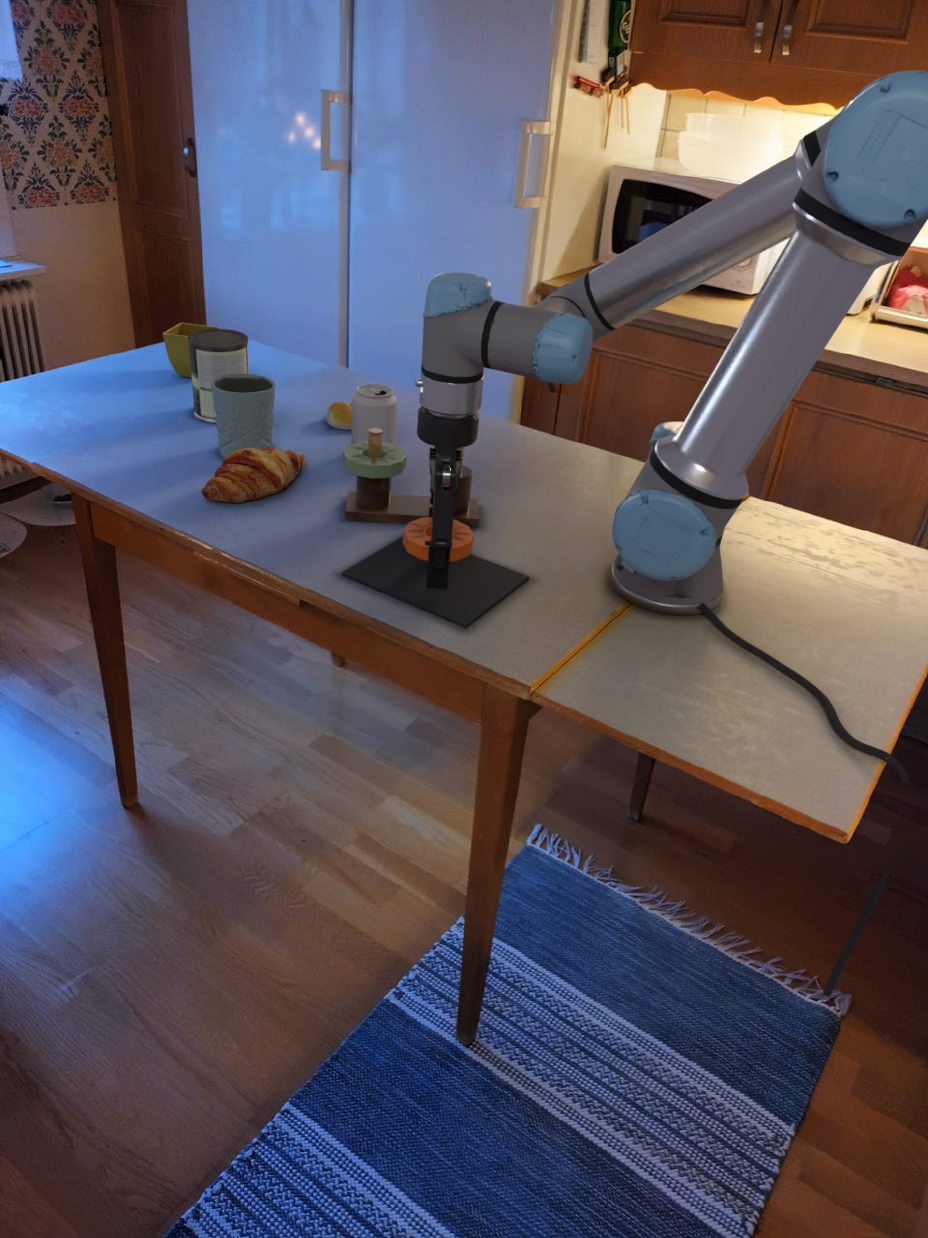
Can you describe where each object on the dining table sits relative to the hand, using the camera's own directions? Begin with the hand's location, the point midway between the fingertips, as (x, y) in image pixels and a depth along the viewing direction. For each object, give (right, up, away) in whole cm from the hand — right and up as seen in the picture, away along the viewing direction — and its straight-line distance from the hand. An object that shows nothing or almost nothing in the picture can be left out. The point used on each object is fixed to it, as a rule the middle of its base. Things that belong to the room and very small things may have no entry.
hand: (436, 568), depth 124 cm
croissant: (-28, +13, +20) cm, 37 cm away
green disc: (-10, +16, +12) cm, 22 cm away
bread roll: (-17, +29, +46) cm, 57 cm away
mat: (0, -1, +1) cm, 1 cm away
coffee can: (-41, +31, +45) cm, 68 cm away
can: (-12, +21, +34) cm, 42 cm away
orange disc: (0, +3, -2) cm, 3 cm away
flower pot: (-50, +42, +62) cm, 90 cm away
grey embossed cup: (-33, +21, +31) cm, 50 cm away
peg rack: (-4, +9, +17) cm, 19 cm away
